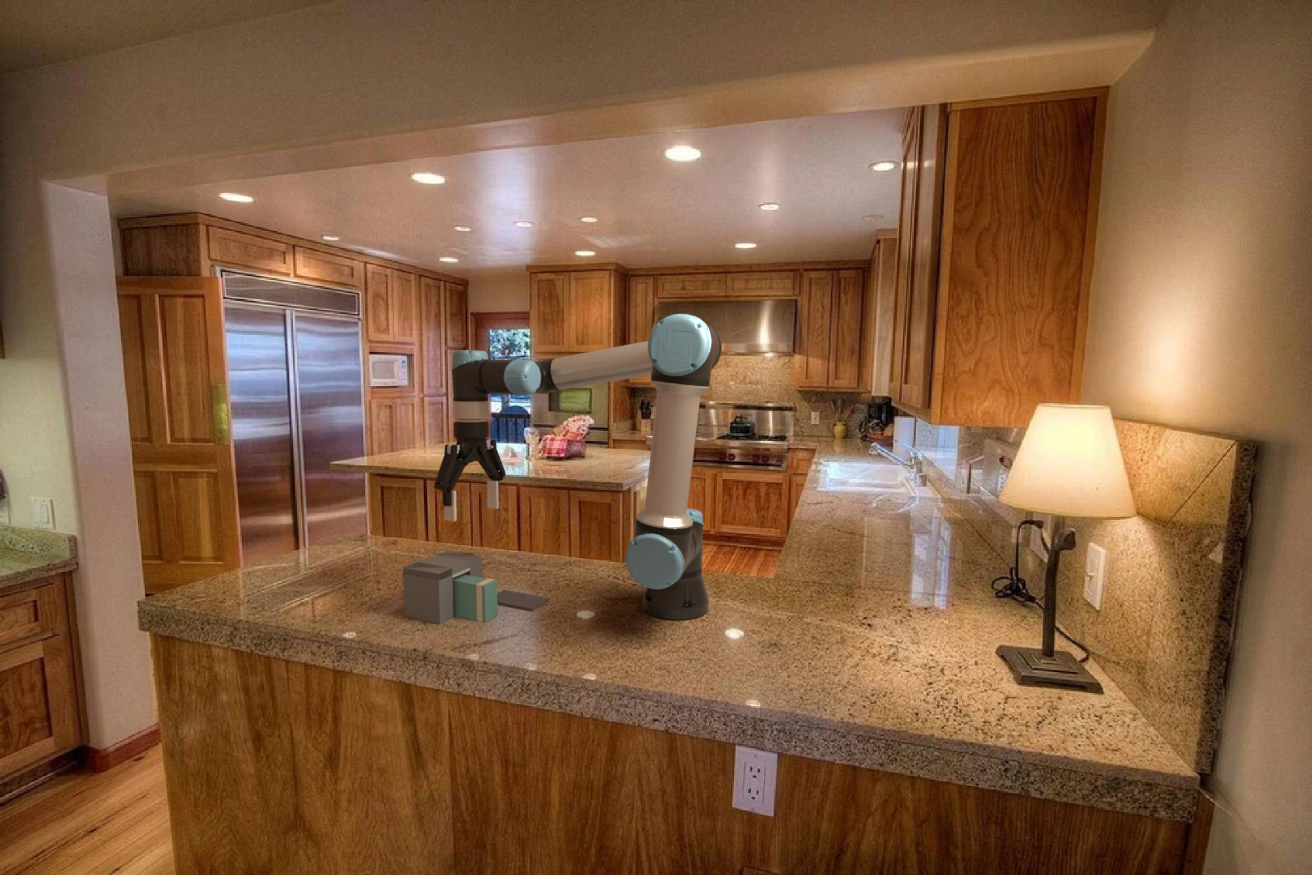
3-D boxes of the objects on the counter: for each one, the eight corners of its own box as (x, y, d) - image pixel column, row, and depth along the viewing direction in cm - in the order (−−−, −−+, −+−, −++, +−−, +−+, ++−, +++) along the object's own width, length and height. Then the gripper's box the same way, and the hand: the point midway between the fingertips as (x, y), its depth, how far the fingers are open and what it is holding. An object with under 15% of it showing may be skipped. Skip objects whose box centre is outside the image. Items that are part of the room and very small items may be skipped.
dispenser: (482, 601, 133) (481, 555, 132) (440, 624, 121) (438, 573, 119) (449, 595, 137) (448, 550, 136) (404, 616, 124) (403, 567, 123)
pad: (549, 600, 134) (549, 598, 134) (531, 611, 128) (531, 608, 128) (504, 591, 139) (504, 589, 139) (485, 601, 133) (485, 599, 133)
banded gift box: (497, 615, 126) (497, 579, 125) (485, 622, 122) (484, 585, 121) (454, 606, 130) (454, 572, 129) (441, 613, 126) (440, 577, 126)
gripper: (495, 416, 140) (496, 501, 142) (414, 423, 117) (417, 524, 119) (520, 418, 137) (520, 504, 139) (441, 424, 114) (444, 528, 116)
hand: (472, 514), depth 129 cm, fingers open, 13 cm apart
